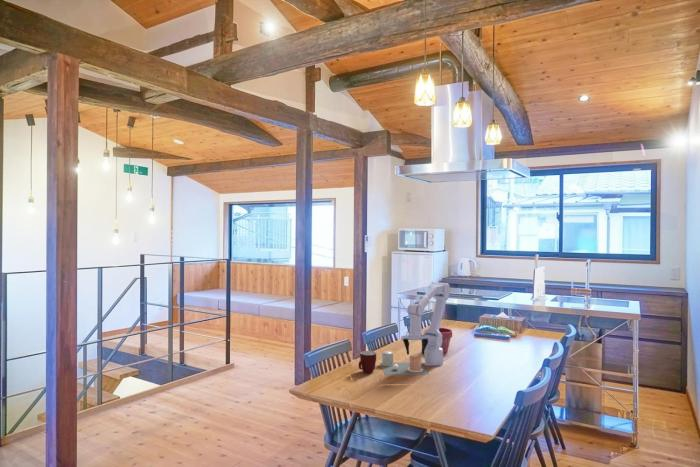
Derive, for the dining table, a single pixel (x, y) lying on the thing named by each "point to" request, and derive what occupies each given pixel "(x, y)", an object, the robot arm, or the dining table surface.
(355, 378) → the dining table surface
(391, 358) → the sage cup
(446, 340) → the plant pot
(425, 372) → the mat
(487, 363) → the dining table surface
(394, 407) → the dining table surface
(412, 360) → the tan piece
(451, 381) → the dining table surface
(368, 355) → the mug
